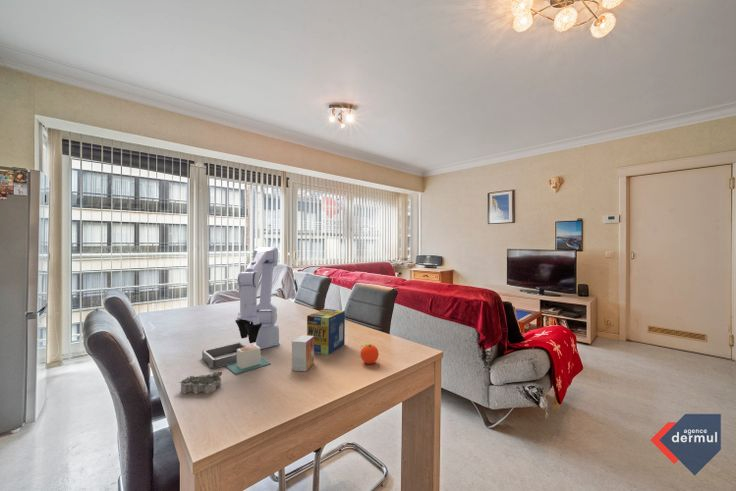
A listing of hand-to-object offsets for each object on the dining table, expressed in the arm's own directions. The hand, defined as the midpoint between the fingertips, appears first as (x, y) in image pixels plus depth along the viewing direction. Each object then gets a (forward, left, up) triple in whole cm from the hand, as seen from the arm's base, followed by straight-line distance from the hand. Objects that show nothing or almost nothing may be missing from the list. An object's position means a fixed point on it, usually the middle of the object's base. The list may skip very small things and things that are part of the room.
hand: (248, 340), depth 110 cm
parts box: (0, 0, -9) cm, 9 cm away
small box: (-14, +15, -10) cm, 23 cm away
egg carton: (+18, +7, -10) cm, 22 cm away
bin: (+3, -13, -9) cm, 16 cm away
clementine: (-34, +29, -10) cm, 46 cm away
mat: (0, 0, -9) cm, 9 cm away
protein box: (-32, +5, -10) cm, 34 cm away
